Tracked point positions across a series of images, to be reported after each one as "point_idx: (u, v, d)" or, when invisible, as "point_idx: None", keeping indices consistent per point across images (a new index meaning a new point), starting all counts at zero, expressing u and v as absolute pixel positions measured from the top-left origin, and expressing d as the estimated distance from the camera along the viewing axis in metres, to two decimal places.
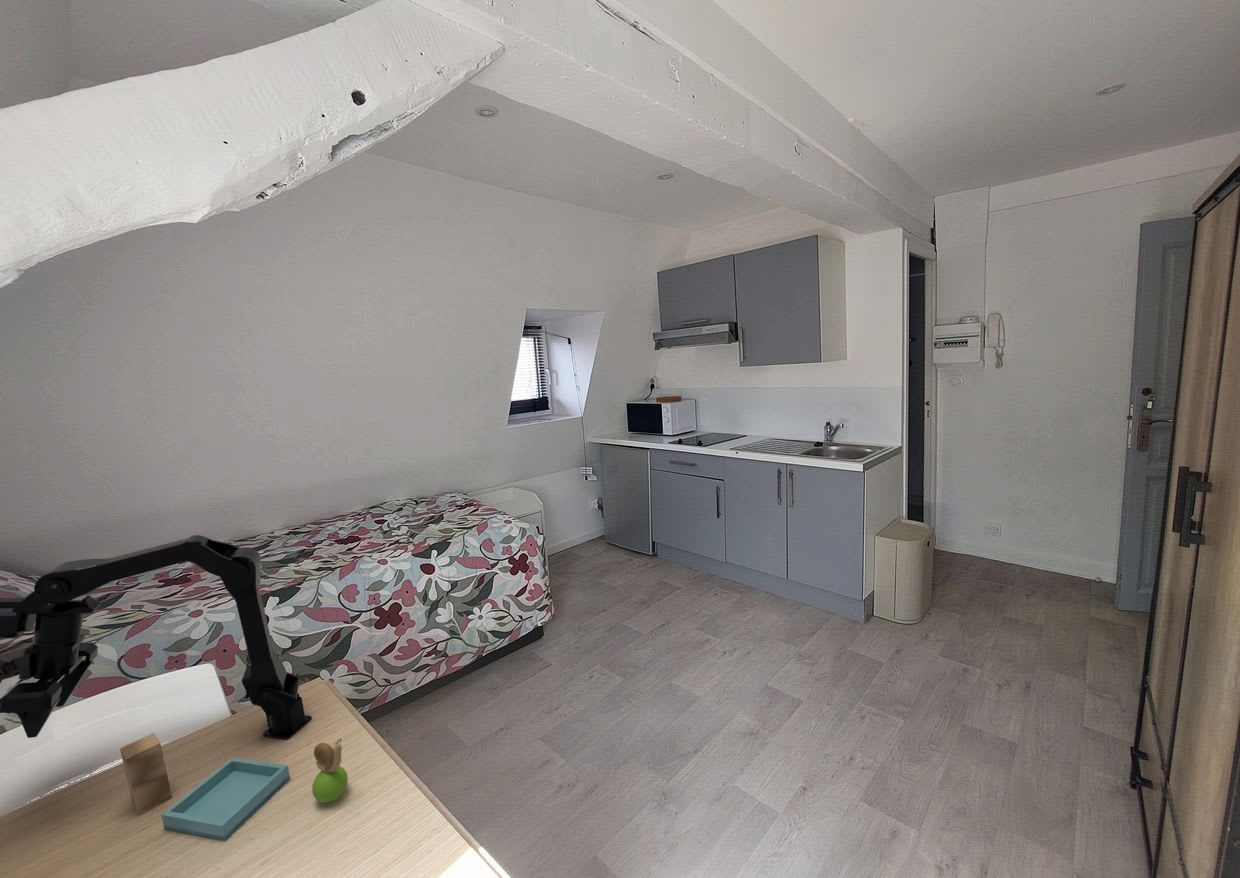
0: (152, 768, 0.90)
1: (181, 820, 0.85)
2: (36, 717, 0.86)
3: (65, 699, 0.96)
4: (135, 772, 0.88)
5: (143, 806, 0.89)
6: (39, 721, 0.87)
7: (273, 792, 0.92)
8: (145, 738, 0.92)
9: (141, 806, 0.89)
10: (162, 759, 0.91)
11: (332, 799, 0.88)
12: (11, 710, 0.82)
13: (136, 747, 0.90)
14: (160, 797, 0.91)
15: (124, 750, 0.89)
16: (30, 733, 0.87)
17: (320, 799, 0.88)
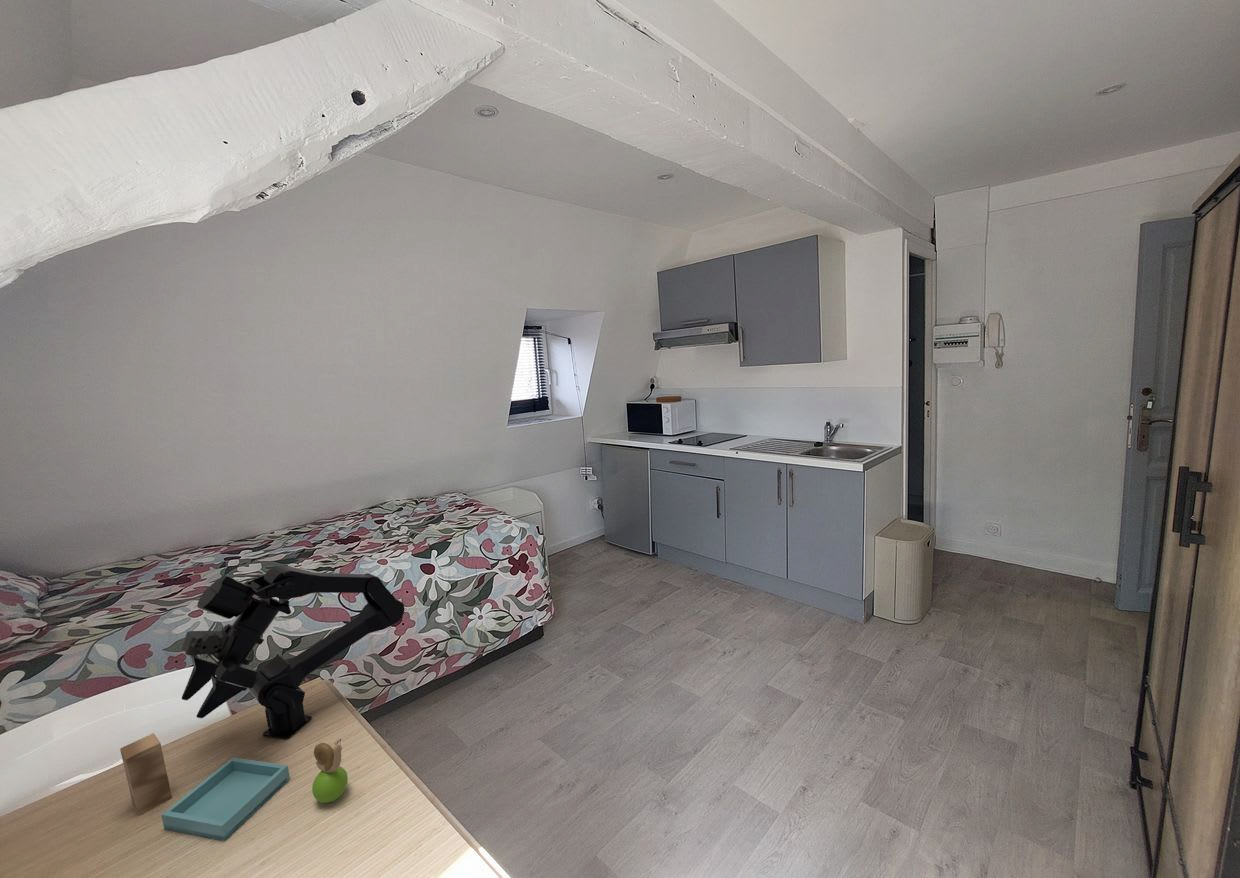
0: (152, 768, 0.90)
1: (181, 820, 0.85)
2: (220, 697, 0.95)
3: (193, 694, 1.00)
4: (135, 772, 0.88)
5: (143, 806, 0.89)
6: (219, 701, 0.95)
7: (273, 792, 0.92)
8: (145, 738, 0.92)
9: (141, 806, 0.89)
10: (162, 759, 0.91)
11: (332, 799, 0.88)
12: (231, 681, 0.93)
13: (136, 747, 0.90)
14: (160, 797, 0.91)
15: (124, 750, 0.89)
16: (202, 712, 0.93)
17: (320, 799, 0.88)
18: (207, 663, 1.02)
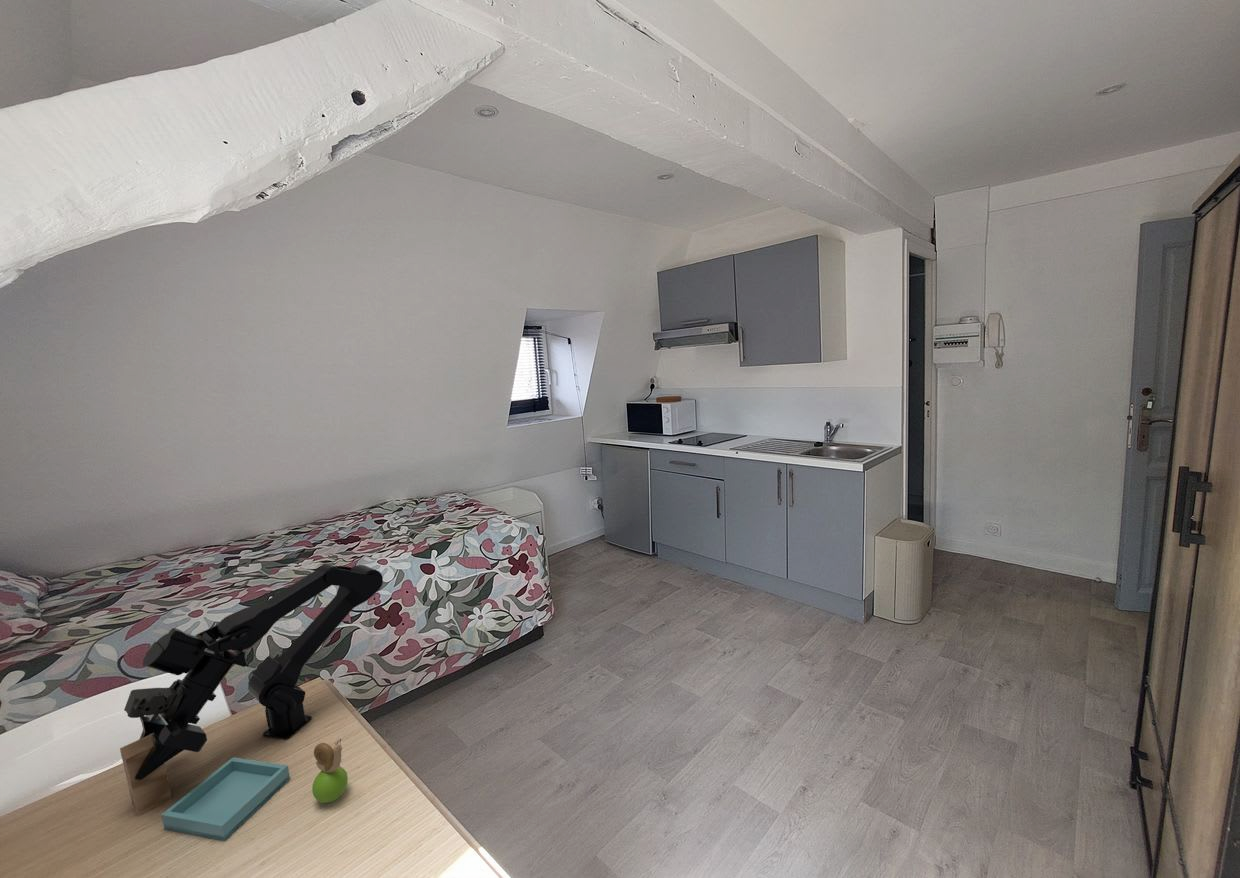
0: None
1: (181, 820, 0.85)
2: (161, 756, 0.90)
3: None
4: (135, 772, 0.88)
5: (143, 806, 0.89)
6: (160, 761, 0.90)
7: (273, 792, 0.92)
8: (145, 738, 0.92)
9: (141, 806, 0.89)
10: None
11: (332, 799, 0.88)
12: (176, 746, 0.87)
13: (136, 747, 0.90)
14: (159, 797, 0.91)
15: (124, 750, 0.89)
16: (141, 774, 0.88)
17: (320, 799, 0.88)
18: (158, 725, 0.94)
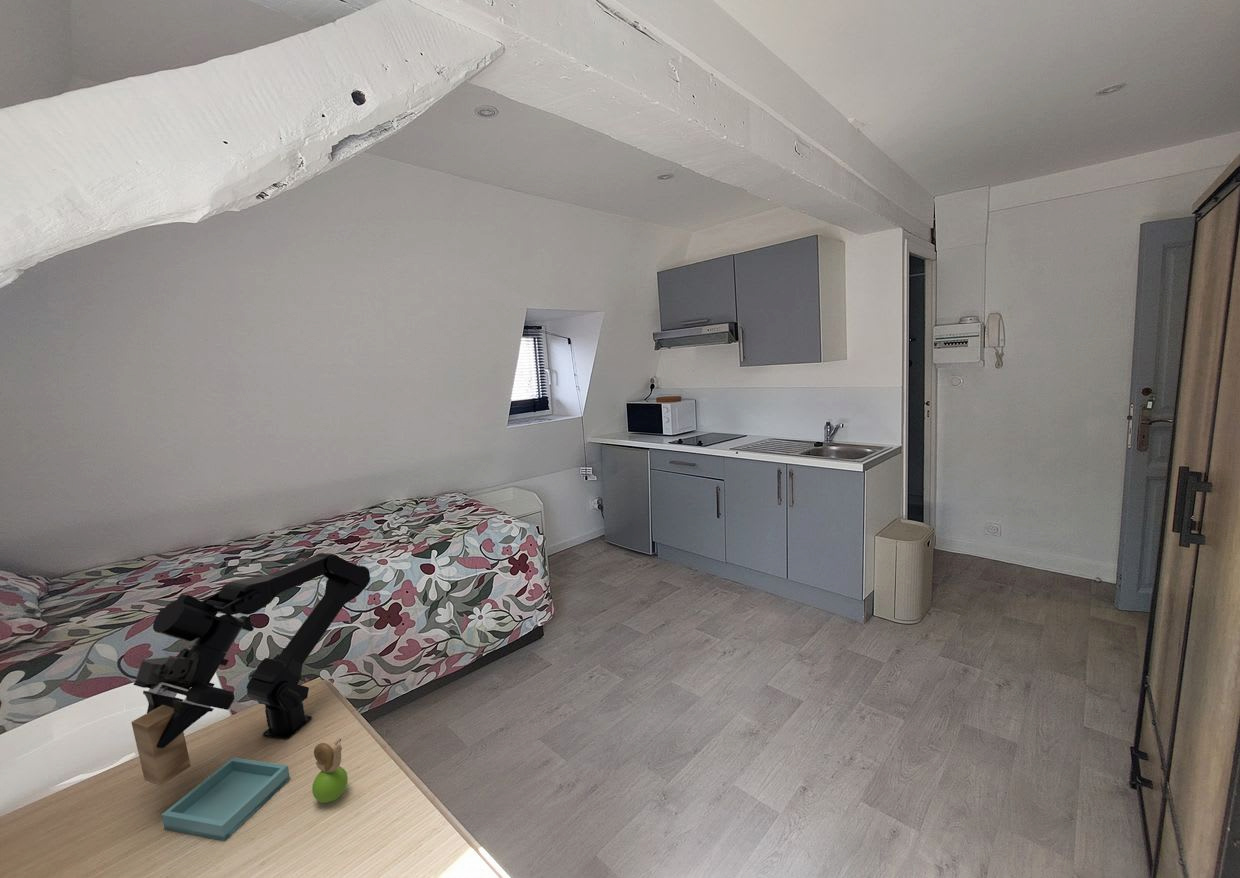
0: None
1: (181, 820, 0.85)
2: (183, 722, 0.88)
3: None
4: (157, 740, 0.86)
5: (164, 776, 0.87)
6: (183, 727, 0.88)
7: (273, 792, 0.92)
8: (156, 710, 0.89)
9: (163, 776, 0.86)
10: None
11: (332, 799, 0.88)
12: (209, 704, 0.87)
13: (152, 717, 0.87)
14: (179, 766, 0.89)
15: (138, 722, 0.86)
16: (164, 741, 0.86)
17: (320, 799, 0.88)
18: (165, 697, 0.91)
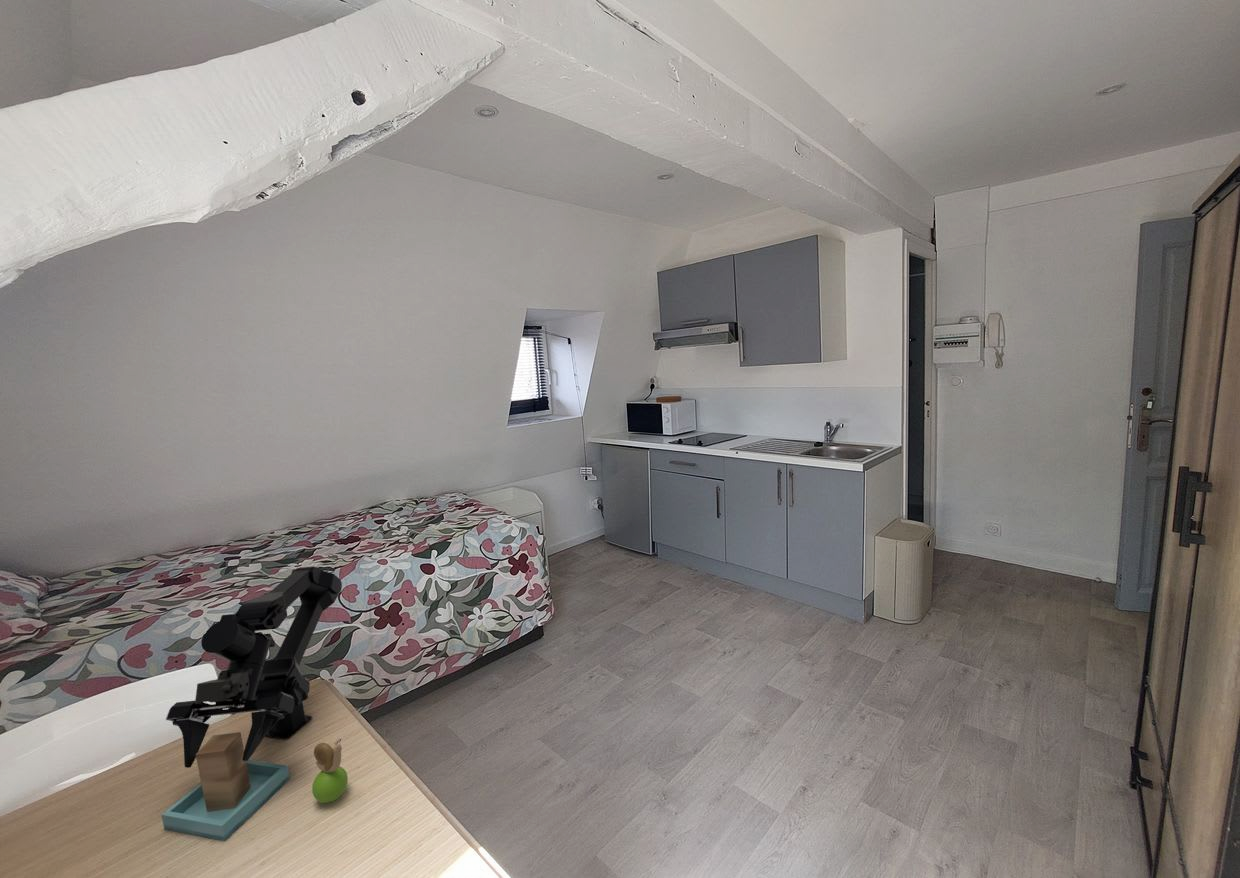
0: (238, 759, 0.90)
1: (181, 820, 0.85)
2: (261, 733, 0.91)
3: (194, 758, 0.89)
4: (230, 763, 0.88)
5: (236, 798, 0.89)
6: (261, 738, 0.91)
7: (273, 792, 0.92)
8: (212, 740, 0.90)
9: (236, 798, 0.89)
10: (243, 748, 0.91)
11: (332, 799, 0.88)
12: (282, 707, 0.92)
13: (217, 745, 0.88)
14: (244, 787, 0.91)
15: (206, 751, 0.87)
16: (248, 754, 0.89)
17: (320, 799, 0.88)
18: (198, 723, 0.91)
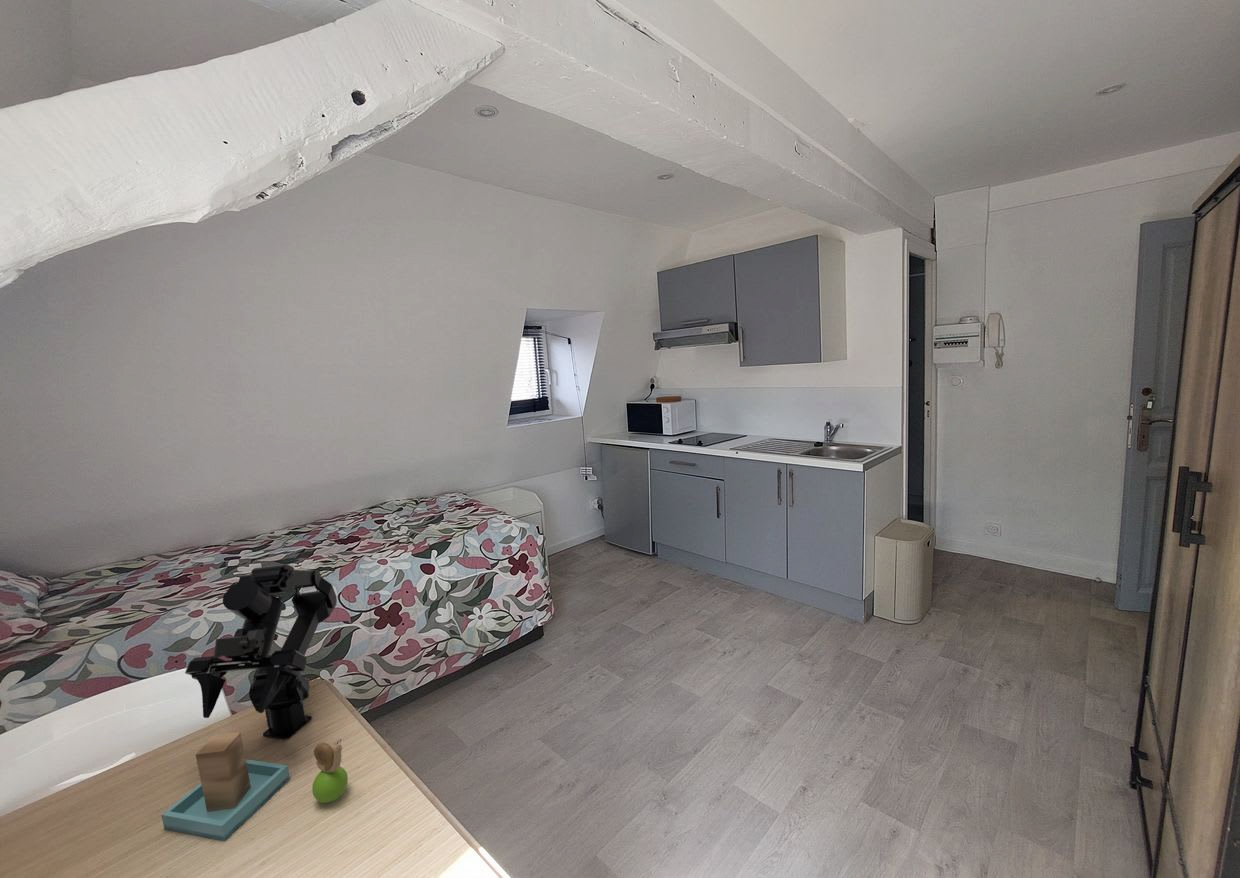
0: (238, 759, 0.90)
1: (181, 820, 0.85)
2: (275, 688, 0.96)
3: (212, 710, 0.94)
4: (230, 763, 0.88)
5: (236, 798, 0.89)
6: (275, 692, 0.96)
7: (273, 792, 0.92)
8: (212, 740, 0.90)
9: (236, 798, 0.89)
10: (243, 748, 0.91)
11: (332, 799, 0.88)
12: (295, 663, 0.97)
13: (217, 745, 0.88)
14: (244, 787, 0.91)
15: (206, 751, 0.87)
16: (263, 706, 0.94)
17: (320, 799, 0.88)
18: (215, 677, 0.96)
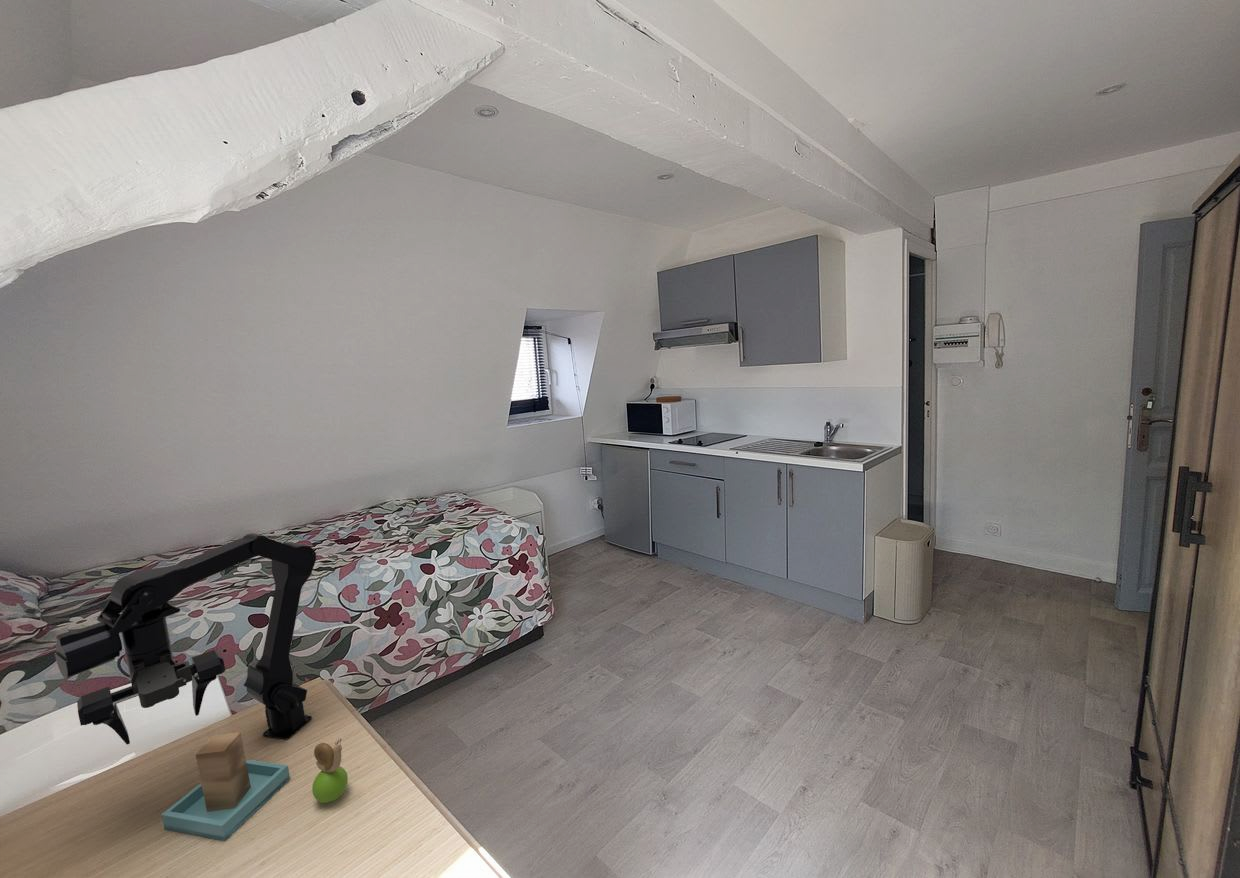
0: (238, 759, 0.90)
1: (181, 820, 0.85)
2: None
3: (127, 733, 0.88)
4: (230, 763, 0.88)
5: (236, 798, 0.89)
6: None
7: (273, 792, 0.92)
8: (212, 740, 0.90)
9: (236, 798, 0.89)
10: (243, 748, 0.91)
11: (332, 799, 0.88)
12: None
13: (217, 745, 0.88)
14: (244, 787, 0.91)
15: (206, 751, 0.87)
16: None
17: (320, 799, 0.88)
18: (116, 709, 0.86)
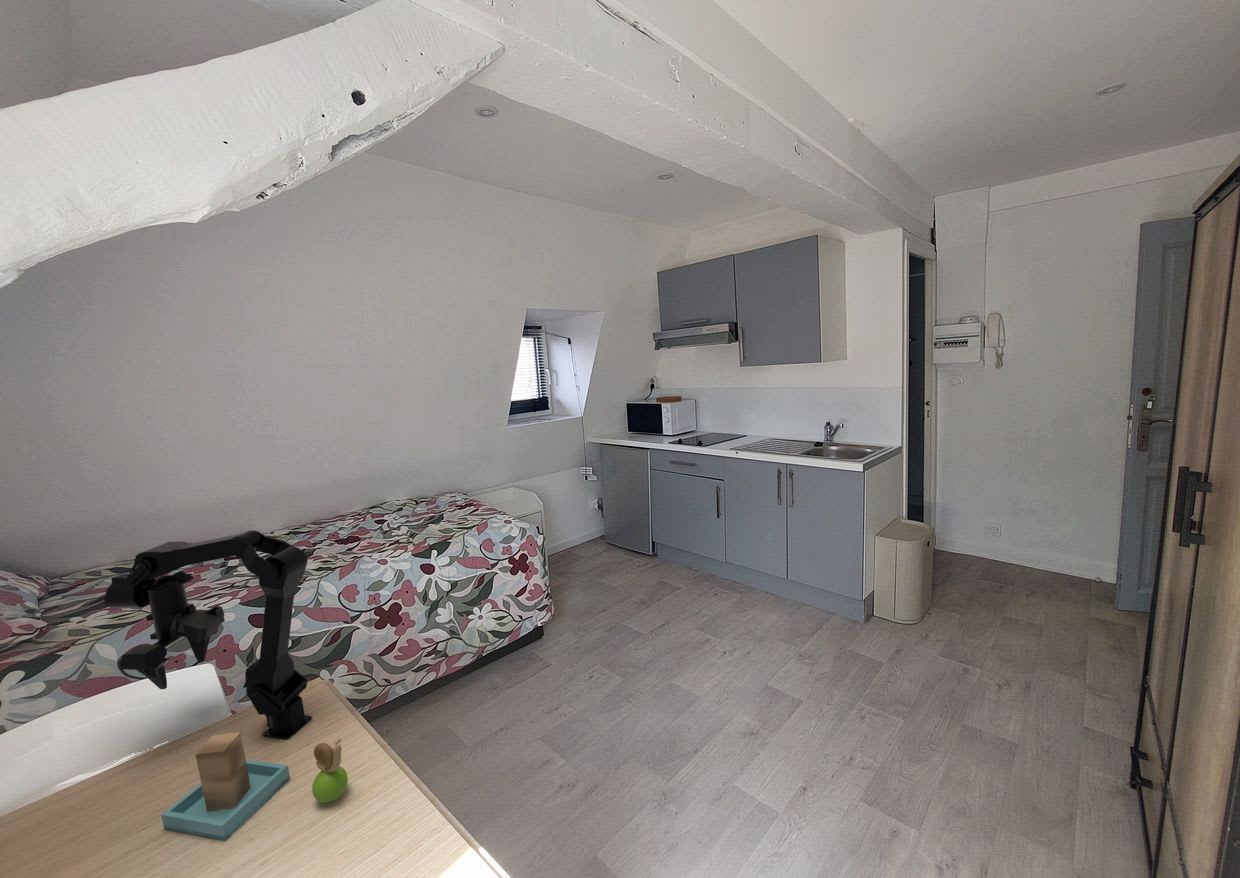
0: (238, 759, 0.90)
1: (181, 820, 0.85)
2: None
3: None
4: (230, 763, 0.88)
5: (236, 798, 0.89)
6: None
7: (273, 792, 0.92)
8: (212, 740, 0.90)
9: (236, 798, 0.89)
10: (243, 748, 0.91)
11: (332, 799, 0.88)
12: None
13: (217, 745, 0.88)
14: (244, 787, 0.91)
15: (206, 751, 0.87)
16: None
17: (320, 799, 0.88)
18: None
